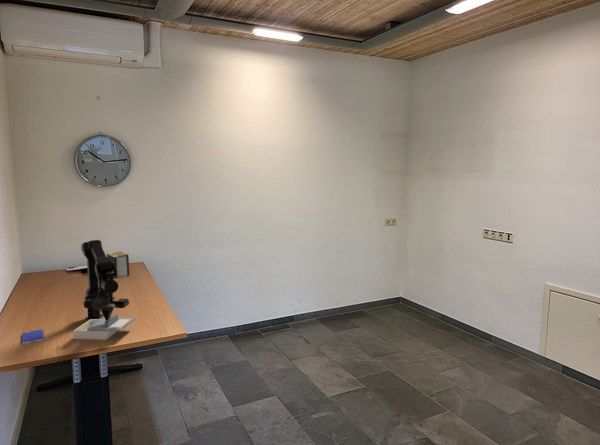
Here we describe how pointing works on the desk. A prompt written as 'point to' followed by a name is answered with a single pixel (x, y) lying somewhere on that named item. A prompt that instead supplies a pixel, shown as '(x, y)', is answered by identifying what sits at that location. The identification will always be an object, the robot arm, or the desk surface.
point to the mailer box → (91, 332)
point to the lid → (111, 324)
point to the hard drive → (32, 336)
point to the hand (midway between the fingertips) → (107, 320)
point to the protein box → (120, 263)
